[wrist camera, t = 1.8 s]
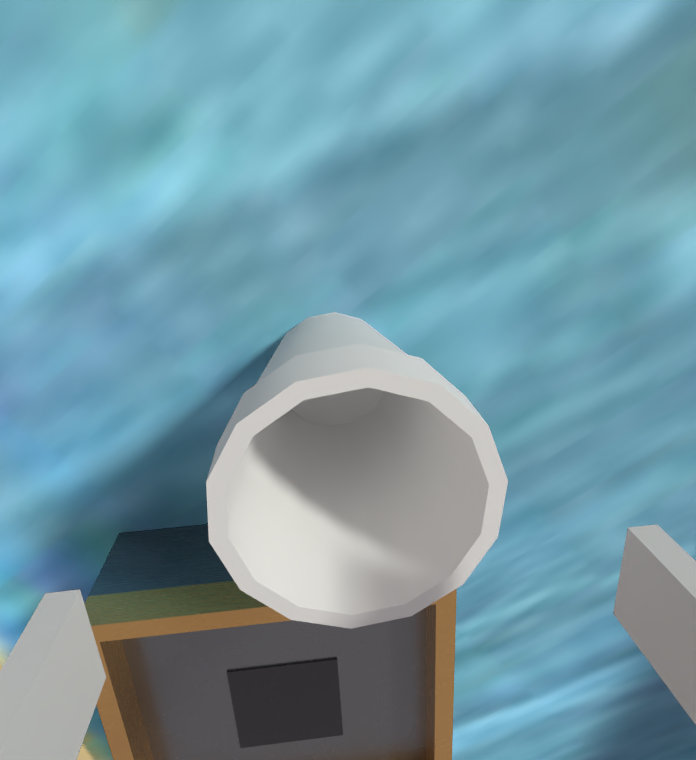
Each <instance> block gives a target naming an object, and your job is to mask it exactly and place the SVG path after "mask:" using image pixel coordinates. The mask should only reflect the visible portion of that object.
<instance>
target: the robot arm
mask: <svg viewBox="0 0 696 760" xmlns="http://www.w3.org/2000/svg"><path fill="white" fill-rule="evenodd" d="M613 614H614V615H615V617H616V618H617V619H618V621H619V622H620V623H621V625H622V626H623V627H624V629H625V630H626V631H627V633H628V634H629V635H630V637H631V638H632V640H633V641H634V642H635V644H636V645H637V646H638V648H639V649H640V650H641V652H642V653H643V654H644V656H645V657H646V658H647V660H648V661H649V663H650V664H651V665H652V667H653V668H654V669H655V671H656V672H657V673H658V675H659V676H660V677H661V679H662V680H663V681H664V683H665V684H666V686H667V687H668V688H669V690H670V691H671V692H672V694H673V695H674V696H675V698H676V699H677V700H678V702H679V703H680V704H681V706H682V707H683V709H684V710H685V711H686V713H687V714H688V715H689V717H690V718H691V719H692V721H693V722H694V723H695V725H696V561H695V560H694V559H693V558H692V557H691V556H690V555H689V554H688V553H687V552H686V551H685V550H683V549H682V548H681V547H680V546H679V545H678V544H677V543H676V542H675V541H674V540H673V539H672V538H671V537H670V536H669V535H668V534H667V533H666V532H665V531H664V530H662V529H661V528H660V527H659V526H658V525H648V526H639V527H630V528H628V529H627V535H626V541H625V547H624V553H623V559H622V565H621V571H620V577H619V583H618V588H617V594H616V600H615V606H614V612H613ZM105 679H106V675H105V672H104V668H103V665H102V661H101V658H100V655H99V651H98V648H97V645H96V641H95V638H94V635H93V631H92V628H91V625H90V621H89V618H88V614H87V611H86V608H85V604H84V601H83V598H82V594H81V591H80V589H79V590H70V591H62V592H53V593H45V595H44V596H43V598H42V600H41V601H40V603H39V605H38V607H37V608H36V610H35V612H34V614H33V615H32V617H31V619H30V620H29V622H28V624H27V626H26V627H25V629H24V631H23V633H22V634H21V636H20V638H19V639H18V641H17V643H16V645H15V646H14V648H13V650H12V652H11V653H10V655H9V657H8V659H7V660H6V662H5V664H4V665H3V667H2V669H1V671H0V760H76V759H77V757H78V754H79V751H80V748H81V746H82V743H83V740H84V737H85V735H86V732H87V729H88V726H89V723H90V721H91V718H92V715H93V712H94V710H95V707H96V704H97V701H98V698H99V696H100V693H101V690H102V687H103V685H104V682H105Z"/></svg>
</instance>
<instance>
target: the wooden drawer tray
mask: <svg viewBox="0 0 696 760" xmlns="http://www.w3.org/2000/svg"><path fill="white" fill-rule="evenodd" d="M456 589H457V588H456ZM456 589H455V590H453V591H452V592H450V593H448V594H447V595H445V596H443V597H442V598H440V599H439V600H437V601H435V602H434V603H432V604H430V605H429V606H427V607H426V608H424V609H422V610H421V611H419V612H417V613H416V614H414V615H413V616H410V617H405V618H400V619H396V620H391V621H386V622H381V623H376V624H371V625H367V626H362V627H357V628H352V629H350V628H343V627H336V626H329V625H322V624H315V623H309V622H302V621H295V620H290V619H288V618H287V617H285V616H283V615H282V614H280V613H278V612H277V611H275V610H273V609H272V608H270V607H268V606H267V605H265V604H263V603H261V602H260V601H258V600H256V599H255V598H253V597H251V596H250V595H248V594H246V593H245V592H243V591H241V590H240V589H239V587H238V586H237V584H236V583H235V581H234V580H233V578H232V577H231V575H230V573H229V572H228V570H227V569H226V567H225V566H224V564H223V563H222V561H221V559H220V558H219V556H218V555H217V553H216V552H215V550H214V549H213V547H212V546H211V544H210V542H209V534H208V525H198V526H188V527H178V528H168V529H157V530H147V531H137V532H127V533H119V535H118V537H117V539H116V541H115V543H114V545H113V547H112V549H111V551H110V553H109V555H108V557H107V559H106V561H105V563H104V565H103V567H102V569H101V571H100V573H99V575H98V577H97V579H96V581H95V583H94V585H93V587H92V590H91V592H90V594H89V596H88V598H87V600H86V602H85V608H86V611H87V614H88V618H89V621H90V625H91V628H92V631H93V635H94V638H95V641H96V645H97V648H98V651H99V655H100V658H101V661H102V665H103V668H104V672H105V675H106V679H105V682H104V685H103V687H102V690H101V693H100V696H99V698H98V701H97V704H96V705H97V708H98V711H99V715H100V718H101V721H102V724H103V728H104V731H105V734H106V737H107V740H108V744H109V747H110V750H111V753H112V756H113V760H452V734H453V697H454V661H455V625H456Z"/></svg>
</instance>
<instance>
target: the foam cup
mask: <svg viewBox="0 0 696 760" xmlns="http://www.w3.org/2000/svg"><path fill="white" fill-rule="evenodd" d="M507 484H508V480H507V477H506V474H505V471H504V468H503V465H502V463H501V460H500V457H499V454H498V451H497V448H496V446H495V443H494V440H493V437H492V434H491V431H490V428H489V426H488V425H487V423H486V422H485V421H484V419H483V418H482V417H481V416H480V414H479V413H478V412H477V410H476V409H475V408H474V407H473V405H472V404H471V403H470V401H469V400H468V399H467V398H466V396H465V395H464V394H462V393H461V392H460V391H459V390H458V389H457V388H455V387H454V386H453V385H452V384H451V383H450V382H449V381H447V380H446V379H445V378H444V377H443V376H442V375H440V374H439V373H438V372H437V371H436V370H435V369H434V368H432V367H431V366H430V365H429V364H428V363H427V362H425V361H424V360H423V359H422V358H419V357H415V356H411V355H407V354H406V353H405V352H403V351H402V350H401V349H400V348H398V347H397V346H396V345H394V344H393V343H392V342H390V341H389V340H388V339H387V338H385V337H384V336H383V335H381V334H380V333H379V332H378V331H376V330H375V329H374V328H372V327H371V326H370V325H369V324H367V323H366V322H365V321H363V320H362V319H359V318H355V317H351V316H347V315H344V314H340V313H336V312H334V313H328V314H323V315H318V316H313V317H308V318H306V319H305V320H304V321H302V322H301V323H300V324H298V325H297V326H296V327H294V328H293V329H291V330H290V331H289V332H287V333H286V335H285V336H284V337H283V339H282V341H281V342H280V344H279V346H278V348H277V349H276V351H275V353H274V354H273V356H272V358H271V359H270V361H269V363H268V364H267V366H266V368H265V370H264V371H263V373H262V375H261V376H260V378H259V380H258V381H257V383H256V384H255V385H254V386H253V387H251V388H250V389H248V390H247V391H246V392H244V393H243V395H242V397H241V399H240V401H239V403H238V405H237V407H236V409H235V411H234V413H233V415H232V417H231V419H230V420H229V422H228V424H227V426H226V428H225V430H224V432H223V434H222V436H221V438H220V440H219V442H218V444H217V446H216V450H215V453H214V457H213V460H212V464H211V467H210V470H209V474H208V477H207V481H206V490H207V512H208V534H209V542H210V544H211V546H212V547H213V549H214V550H215V552H216V553H217V555H218V556H219V558H220V559H221V561H222V563H223V564H224V566H225V567H226V569H227V570H228V572H229V573H230V575H231V577H232V578H233V580H234V581H235V583H236V584H237V586H238V587H239V589H240V590H241V591H243V592H245V593H246V594H248V595H250V596H251V597H253V598H255V599H256V600H258V601H260V602H261V603H263V604H265V605H267V606H268V607H270V608H272V609H273V610H275V611H277V612H278V613H280V614H282V615H283V616H285V617H287V618H288V619H290V620H295V621H302V622H309V623H315V624H322V625H329V626H336V627H343V628H350V629H352V628H357V627H362V626H367V625H371V624H376V623H381V622H386V621H391V620H396V619H400V618H405V617H410V616H413V615H414V614H416V613H417V612H419V611H421V610H422V609H424V608H426V607H427V606H429V605H430V604H432V603H434V602H435V601H437V600H439V599H440V598H442V597H443V596H445V595H447V594H448V593H450V592H452V591H453V590H455V589H456V588H458V587H460V586H461V585H463V584H464V582H465V581H466V580H467V578H468V577H469V576H470V574H471V573H472V572H473V570H474V569H475V568H476V566H477V565H478V563H479V562H480V561H481V559H482V558H483V557H484V555H485V554H486V553H487V551H488V550H489V549H490V547H491V546H492V544H493V543H494V542H495V540H496V539H497V538H498V533H499V528H500V522H501V517H502V512H503V506H504V501H505V495H506V490H507Z"/></svg>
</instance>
